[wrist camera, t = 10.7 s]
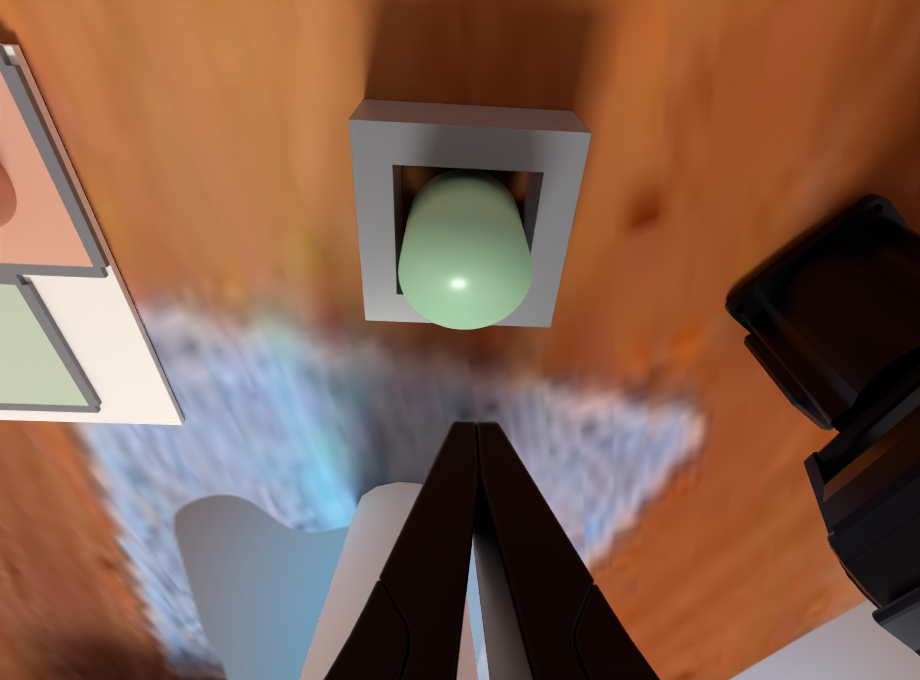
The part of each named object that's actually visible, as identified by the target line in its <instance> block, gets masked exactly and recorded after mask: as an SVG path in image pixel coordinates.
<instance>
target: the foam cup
mask: <svg viewBox="0 0 920 680" xmlns="http://www.w3.org/2000/svg"><path fill="white" fill-rule="evenodd" d="M422 485H423V484H418V483H406V482H396V483H391V484H386V485H381V486H376V487H375V488H373V489H372V490H370V491H369V492H367V493H366V494H364V495H362V497H361V499H360V501H359V504H358V506H357V508H356V512H355V514H354V517H353V520H352V523H351V526H350V529H349V532H348V535H347V538H346V541H345V544H344V547H343V550H342V553H341V556H340V559H339V562H338V565H337V568H336V571H335V574H334V577H333V580H332V583H331V586H330V589H329V592H328V595H327V598H326V601H325V604H324V607H323V610H322V613H321V616H320V619H319V622H318V625H317V628H316V631H315V634H314V637H313V640H312V643H311V646H310V649H309V652H308V655H307V658H306V662H305V664H304V667H303V670H302V673H301V676H300V679H299V680H323V679H324V678H325V676H326V674H327V673H328V671H329V669H330V668H331V666H332V664H333V662H334V661H335V659H336V657H337V656H338V654H339V652H340V650H341V649H342V647H343V645H344V644H345V642H346V640H347V639H348V637H349V635H350V633H351V631H352V629H353V627H354V625H355V623H356V621H357V619H358V618H359V616H360V614H361V612H362V610H363V608H364V606H365V604H366V602H367V600H368V598H369V596H370V594H371V592H372V589H373V587H374V585H375V583H376V581H378V580H379V575H380V573H381V571H382V569H383V567H384V565H385V563H386V561H387V559H388V557H389V555H390V552H391V550H392V548H393V546H394V544H395V542H396V540H397V538H398V536H399V534H400V531H401V529H402V527H403V525H404V523H405V521H406V519H407V517H408V515H409V513H410V511H411V508H412V506H413V504H414V502H415V500H416V498H417V496H418V494H419V492H420V490H421V488H422ZM457 680H478V675H477V668H476V660H475V653H474V646H473V639H472V632H471V625H470V618H469V610H468V603H467V596H466V601H465V609H464V618H463V627H462V636H461V645H460V653H459V662H458V671H457Z"/></svg>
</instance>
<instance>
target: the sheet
mask: <svg viewBox="0 0 920 680" xmlns="http://www.w3.org/2000/svg"><path fill="white" fill-rule="evenodd" d="M0 165H1V166H2V167H3V168H4V170H5V172H6V173H7V175H8V176H9V178H10V180H11V182H12V185H13V187H14V190H15V194H16V202H17V205H16V211H15V214H14V216H13V217H12V219H11V220H10V221H9V222H8V223H6V224H5V225H3V226H1V227H0V420H28V421H62V422H96V423H130V424H164V425H183V423H184V422H185V420H184V417H183V415H182V413H181V411H180V408H179V406H178V404H177V402H176V399H175V397H174V395H173V393H172V390H171V388H170V386H169V383H168V381H167V379H166V377H165V374H164V372H163V370H162V368H161V365H160V363H159V361H158V359H157V356H156V354H155V352H154V350H153V347H152V345H151V343H150V341H149V338H148V336H147V334H146V331H145V329H144V327H143V325H142V322H141V320H140V318H139V316H138V313H137V311H136V309H135V307H134V304H133V302H132V300H131V298H130V295H129V293H128V291H127V289H126V286H125V284H124V282H123V280H122V277H121V275H120V273H119V270H118V268H117V266H116V264H115V261H114V259H113V257H112V255H111V252H110V250H109V248H108V246H107V243H106V241H105V239H104V237H103V234H102V232H101V230H100V228H99V225H98V223H97V221H96V218H95V216H94V214H93V212H92V209H91V207H90V205H89V203H88V200H87V198H86V196H85V194H84V191H83V189H82V187H81V185H80V182H79V180H78V178H77V176H76V173H75V171H74V169H73V167H72V164H71V162H70V160H69V157H68V155H67V153H66V151H65V148H64V146H63V144H62V142H61V139H60V137H59V135H58V133H57V130H56V128H55V126H54V124H53V121H52V119H51V117H50V115H49V112H48V110H47V108H46V105H45V103H44V101H43V99H42V96H41V94H40V92H39V90H38V87H37V85H36V83H35V81H34V78H33V76H32V74H31V72H30V69H29V67H28V65H27V63H26V60H25V58H24V56H23V54H22V51H21V49H20V47H19V45H12V44H0Z"/></svg>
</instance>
